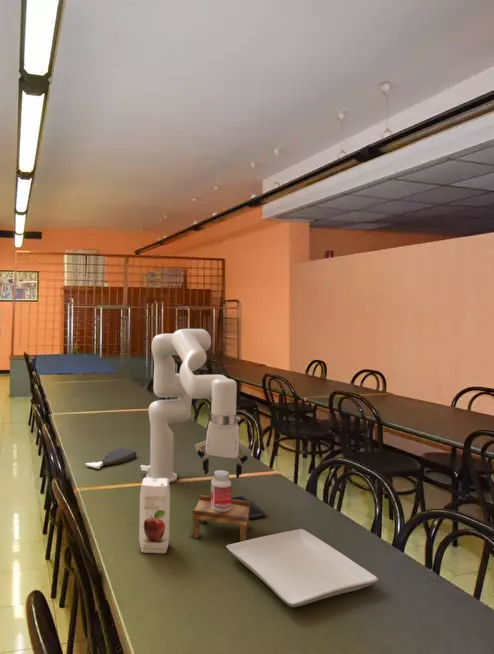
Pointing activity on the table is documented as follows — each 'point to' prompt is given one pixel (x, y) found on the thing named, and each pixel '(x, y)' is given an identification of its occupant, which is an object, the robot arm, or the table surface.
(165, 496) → the juice carton
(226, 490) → the pill bottle
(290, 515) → the table surface
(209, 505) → the stand
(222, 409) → the robot arm
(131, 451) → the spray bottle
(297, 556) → the square plate
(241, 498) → the phone
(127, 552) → the table surface
